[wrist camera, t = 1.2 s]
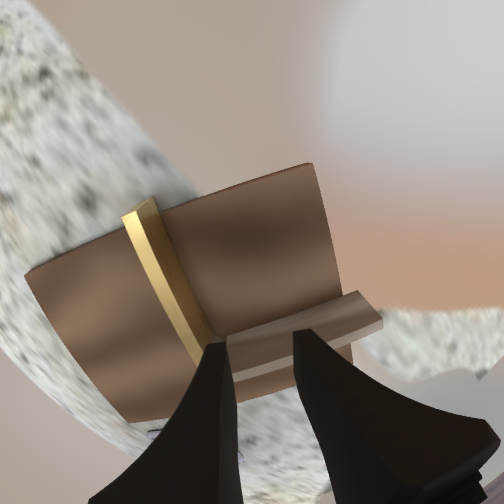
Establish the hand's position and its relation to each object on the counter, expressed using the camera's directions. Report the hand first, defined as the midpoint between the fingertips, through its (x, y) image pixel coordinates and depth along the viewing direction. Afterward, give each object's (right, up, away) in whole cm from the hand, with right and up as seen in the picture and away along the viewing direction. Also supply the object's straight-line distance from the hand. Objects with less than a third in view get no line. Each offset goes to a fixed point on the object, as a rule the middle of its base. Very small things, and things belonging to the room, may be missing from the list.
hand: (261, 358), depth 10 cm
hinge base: (-4, -2, +11) cm, 12 cm away
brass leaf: (-5, +1, +9) cm, 10 cm away
